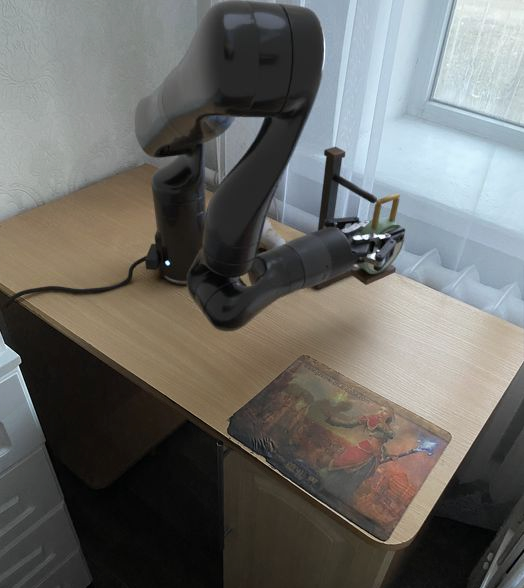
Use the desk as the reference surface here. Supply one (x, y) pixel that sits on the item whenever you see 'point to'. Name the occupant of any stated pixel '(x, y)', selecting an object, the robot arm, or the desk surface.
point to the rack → (330, 195)
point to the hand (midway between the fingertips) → (393, 227)
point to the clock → (378, 227)
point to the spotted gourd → (270, 237)
